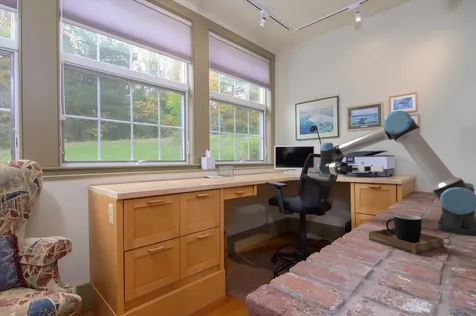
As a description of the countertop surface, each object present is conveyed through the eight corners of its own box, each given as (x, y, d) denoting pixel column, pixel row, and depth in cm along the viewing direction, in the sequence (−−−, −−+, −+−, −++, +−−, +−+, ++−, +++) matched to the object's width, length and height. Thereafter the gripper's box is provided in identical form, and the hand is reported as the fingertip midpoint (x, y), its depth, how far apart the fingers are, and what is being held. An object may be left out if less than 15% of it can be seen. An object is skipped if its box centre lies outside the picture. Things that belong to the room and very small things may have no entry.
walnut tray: (396, 234, 106) (396, 226, 106) (443, 247, 89) (443, 238, 89) (369, 239, 98) (368, 231, 99) (415, 254, 82) (415, 244, 82)
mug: (424, 242, 92) (423, 216, 92) (419, 247, 86) (418, 220, 86) (389, 235, 101) (389, 212, 101) (383, 240, 95) (382, 215, 95)
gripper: (355, 174, 138) (390, 176, 119) (322, 175, 128) (356, 177, 109) (354, 162, 138) (390, 161, 119) (322, 161, 128) (355, 161, 109)
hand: (374, 168), depth 114 cm, fingers open, 13 cm apart
